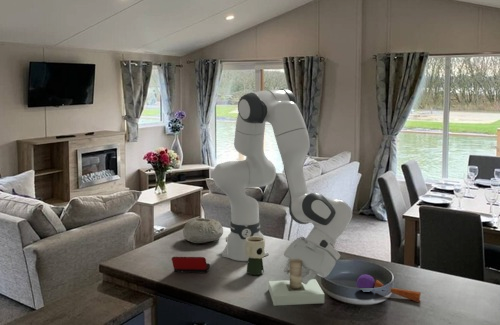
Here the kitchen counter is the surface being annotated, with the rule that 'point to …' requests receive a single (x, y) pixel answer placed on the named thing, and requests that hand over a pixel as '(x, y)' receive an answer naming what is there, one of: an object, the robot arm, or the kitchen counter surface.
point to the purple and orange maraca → (369, 282)
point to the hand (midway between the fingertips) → (294, 277)
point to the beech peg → (295, 274)
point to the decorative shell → (202, 230)
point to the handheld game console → (190, 264)
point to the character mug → (255, 254)
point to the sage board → (295, 293)
